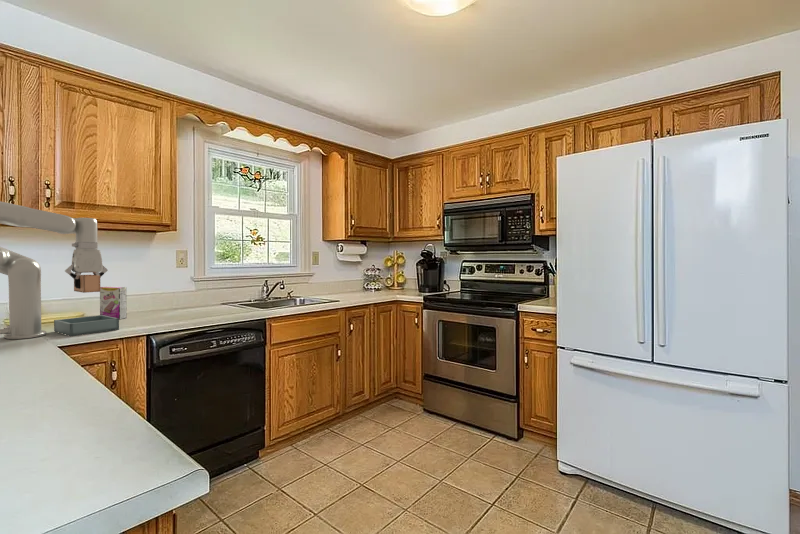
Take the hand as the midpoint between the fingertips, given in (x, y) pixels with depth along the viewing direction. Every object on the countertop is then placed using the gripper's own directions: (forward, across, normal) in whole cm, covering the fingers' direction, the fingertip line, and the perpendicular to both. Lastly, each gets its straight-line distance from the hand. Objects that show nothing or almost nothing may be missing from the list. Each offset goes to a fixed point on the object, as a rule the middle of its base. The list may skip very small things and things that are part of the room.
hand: (87, 287), depth 178 cm
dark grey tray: (+19, 0, 0) cm, 19 cm away
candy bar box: (+19, +21, +26) cm, 38 cm away
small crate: (+2, 0, 0) cm, 2 cm away
